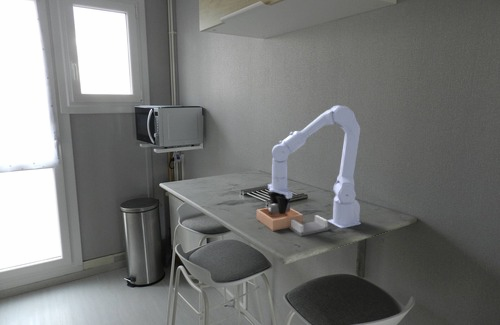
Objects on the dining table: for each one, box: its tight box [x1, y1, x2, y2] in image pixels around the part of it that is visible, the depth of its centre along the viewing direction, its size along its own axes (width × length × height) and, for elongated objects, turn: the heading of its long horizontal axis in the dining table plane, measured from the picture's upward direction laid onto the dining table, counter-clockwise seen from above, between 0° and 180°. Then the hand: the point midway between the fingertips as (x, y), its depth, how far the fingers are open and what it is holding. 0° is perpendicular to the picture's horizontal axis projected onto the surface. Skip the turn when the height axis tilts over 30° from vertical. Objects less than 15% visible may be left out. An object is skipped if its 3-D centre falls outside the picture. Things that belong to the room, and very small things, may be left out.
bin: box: [256, 207, 304, 232], centre depth 126 cm, size 13×13×4 cm
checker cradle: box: [289, 214, 330, 237], centre depth 119 cm, size 12×7×4 cm, turn 116°
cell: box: [267, 202, 291, 215], centre depth 125 cm, size 8×4×4 cm, turn 116°
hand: (279, 211), depth 126 cm, fingers closed on cell, 4 cm apart
